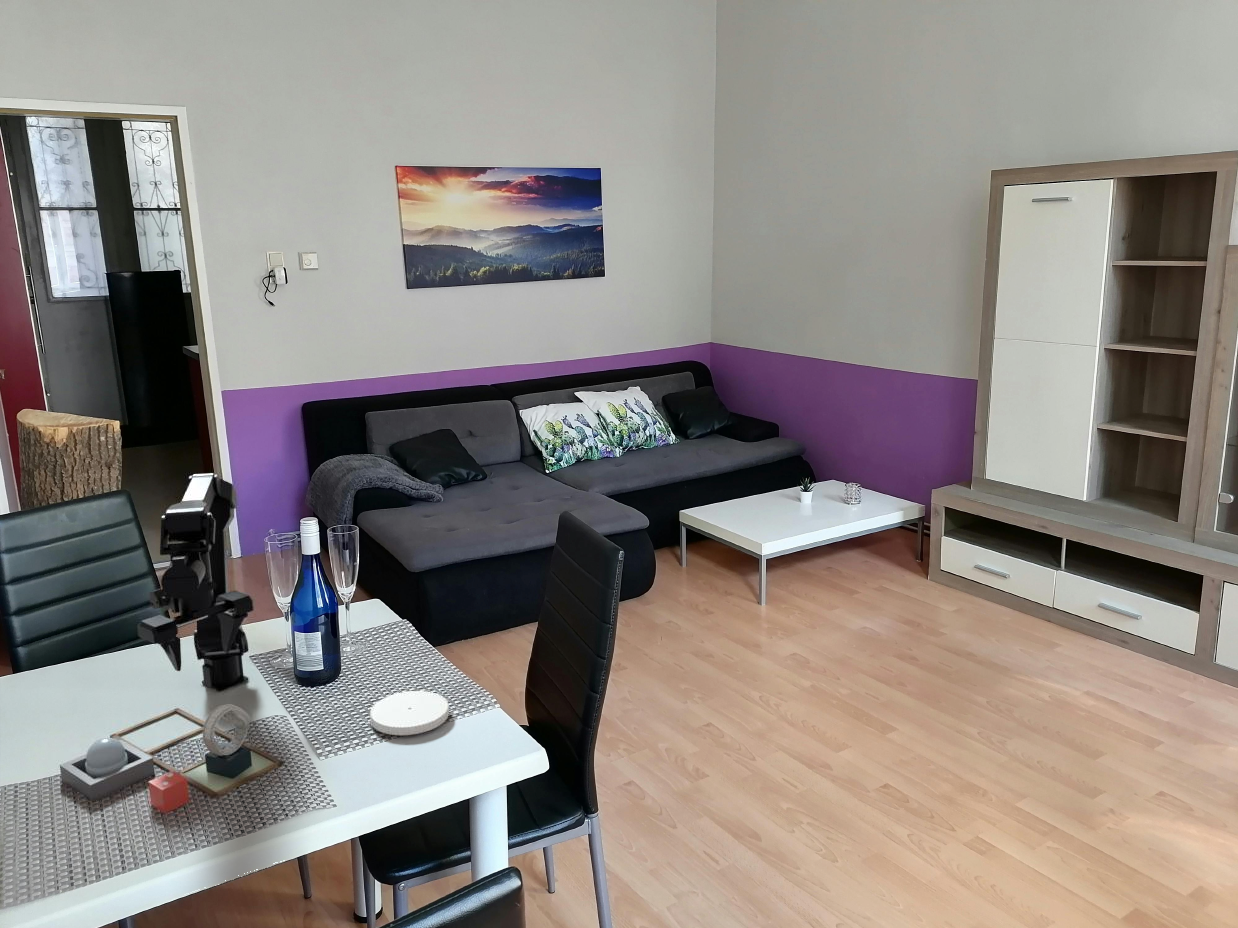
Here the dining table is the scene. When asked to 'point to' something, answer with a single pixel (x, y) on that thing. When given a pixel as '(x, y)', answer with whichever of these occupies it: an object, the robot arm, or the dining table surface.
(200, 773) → the brown flat frame
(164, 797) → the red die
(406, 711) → the plastic lid
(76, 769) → the dome frame
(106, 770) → the dome button
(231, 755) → the watch
